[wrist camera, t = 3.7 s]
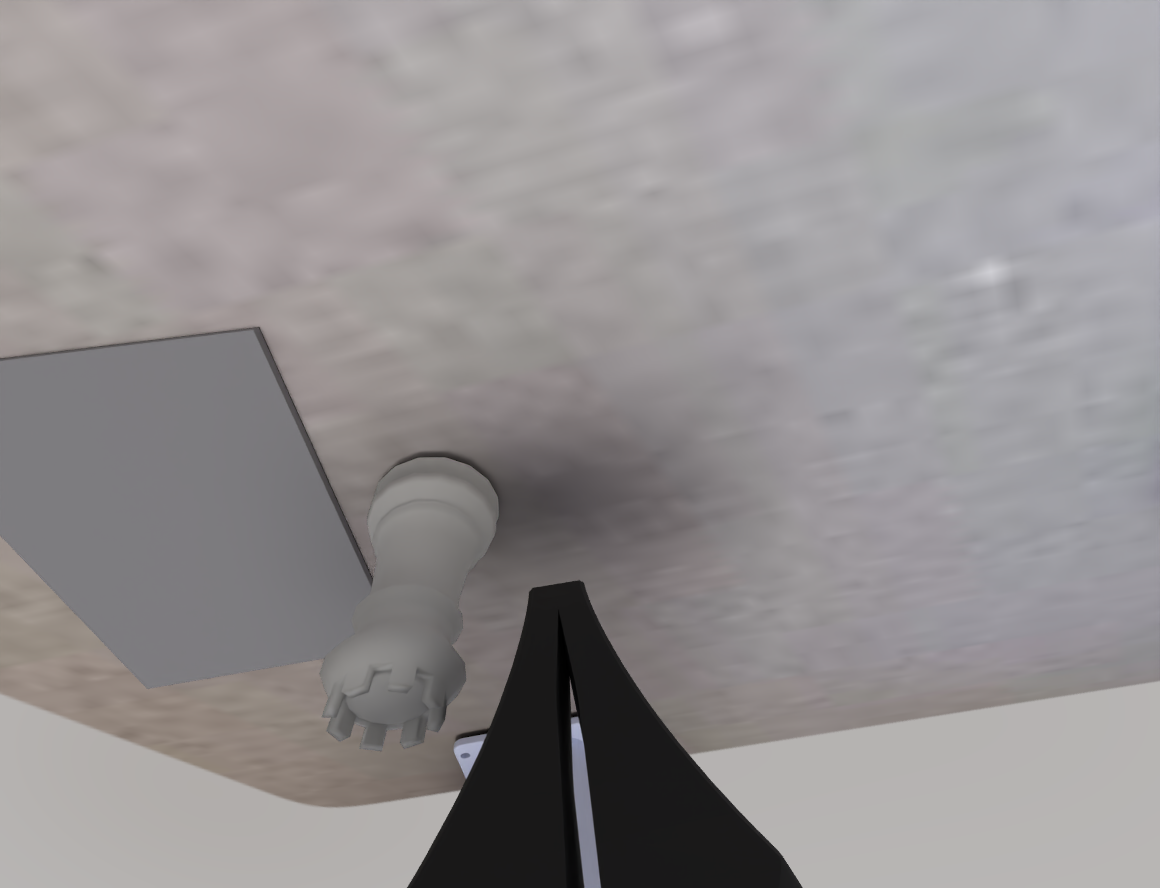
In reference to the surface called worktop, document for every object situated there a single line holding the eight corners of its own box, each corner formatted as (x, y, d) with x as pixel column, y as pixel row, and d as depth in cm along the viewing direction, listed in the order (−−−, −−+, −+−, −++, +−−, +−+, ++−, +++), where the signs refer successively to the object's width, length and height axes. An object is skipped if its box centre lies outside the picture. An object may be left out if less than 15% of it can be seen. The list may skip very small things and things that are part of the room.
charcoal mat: (399, 639, 20) (397, 645, 19) (152, 682, 19) (147, 688, 19) (258, 327, 13) (253, 329, 13) (-136, 375, 12) (-150, 379, 12)
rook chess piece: (412, 427, 15) (324, 621, 8) (523, 486, 17) (528, 688, 10) (354, 516, 16) (236, 748, 9) (461, 562, 18) (428, 788, 11)
